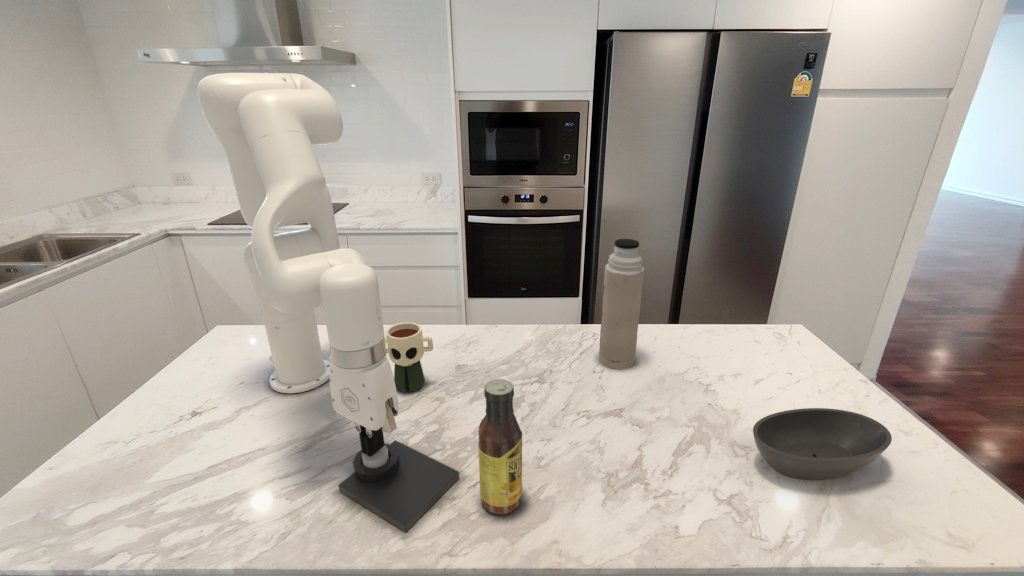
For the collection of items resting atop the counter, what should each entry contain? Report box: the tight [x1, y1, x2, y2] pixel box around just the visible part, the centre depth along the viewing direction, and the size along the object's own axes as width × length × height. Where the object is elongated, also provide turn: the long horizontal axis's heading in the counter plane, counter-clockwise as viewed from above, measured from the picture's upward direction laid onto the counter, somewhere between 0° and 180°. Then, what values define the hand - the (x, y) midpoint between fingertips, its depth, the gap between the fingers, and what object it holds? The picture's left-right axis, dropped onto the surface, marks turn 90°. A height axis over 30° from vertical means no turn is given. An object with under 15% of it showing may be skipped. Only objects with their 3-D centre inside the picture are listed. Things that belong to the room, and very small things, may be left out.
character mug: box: [385, 321, 434, 392], centre depth 98 cm, size 11×7×13 cm, turn 94°
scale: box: [338, 439, 460, 533], centre depth 75 cm, size 16×12×3 cm
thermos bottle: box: [598, 238, 645, 370], centre depth 103 cm, size 8×8×28 cm
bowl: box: [752, 407, 893, 482], centre depth 77 cm, size 12×22×6 cm, turn 99°
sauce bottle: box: [478, 378, 523, 516], centre depth 68 cm, size 6×6×20 cm
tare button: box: [362, 445, 389, 469], centre depth 76 cm, size 4×4×2 cm
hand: (373, 449), depth 76 cm, fingers closed
